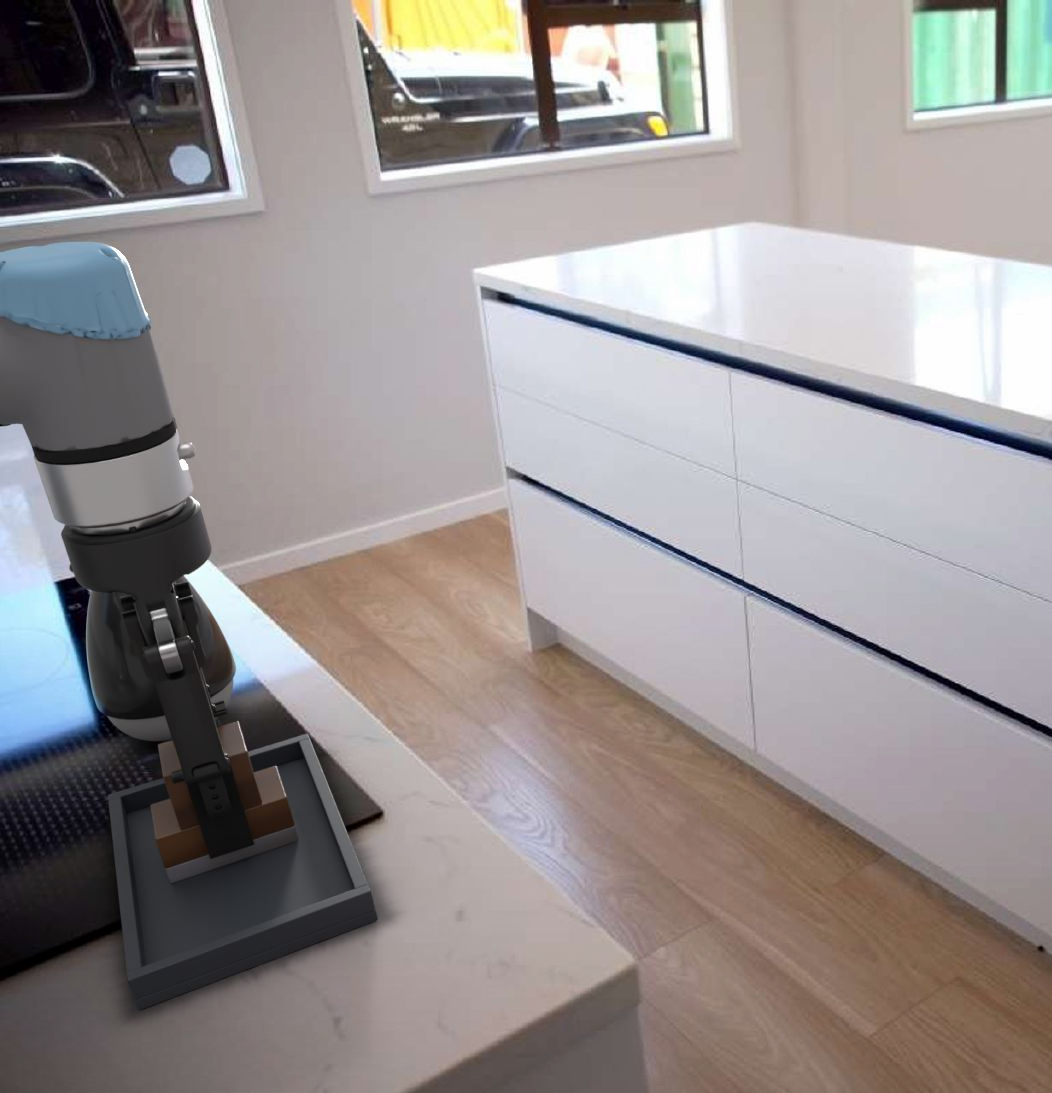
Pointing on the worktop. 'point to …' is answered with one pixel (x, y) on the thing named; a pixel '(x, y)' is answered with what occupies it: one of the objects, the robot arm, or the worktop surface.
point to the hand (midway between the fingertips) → (226, 827)
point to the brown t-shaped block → (180, 823)
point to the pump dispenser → (122, 673)
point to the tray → (235, 887)
